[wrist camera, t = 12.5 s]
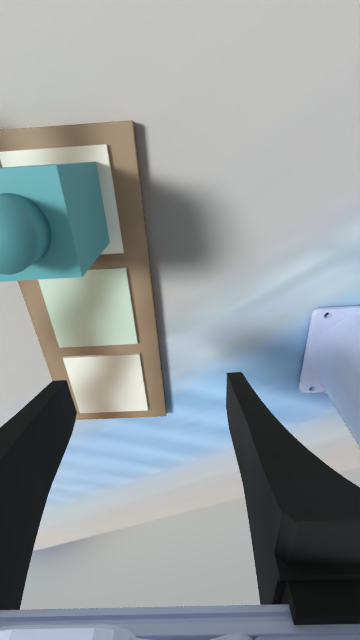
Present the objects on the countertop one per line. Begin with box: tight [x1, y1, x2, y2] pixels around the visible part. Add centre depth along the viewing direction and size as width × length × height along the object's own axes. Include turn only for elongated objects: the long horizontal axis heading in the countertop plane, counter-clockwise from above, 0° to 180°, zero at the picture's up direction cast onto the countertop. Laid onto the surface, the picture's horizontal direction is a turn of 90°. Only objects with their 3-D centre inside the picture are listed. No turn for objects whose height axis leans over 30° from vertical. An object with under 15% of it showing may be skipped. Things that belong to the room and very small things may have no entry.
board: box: [0, 121, 166, 420], centre depth 21 cm, size 9×22×1 cm, turn 3°
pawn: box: [0, 161, 110, 281], centre depth 14 cm, size 4×4×8 cm
